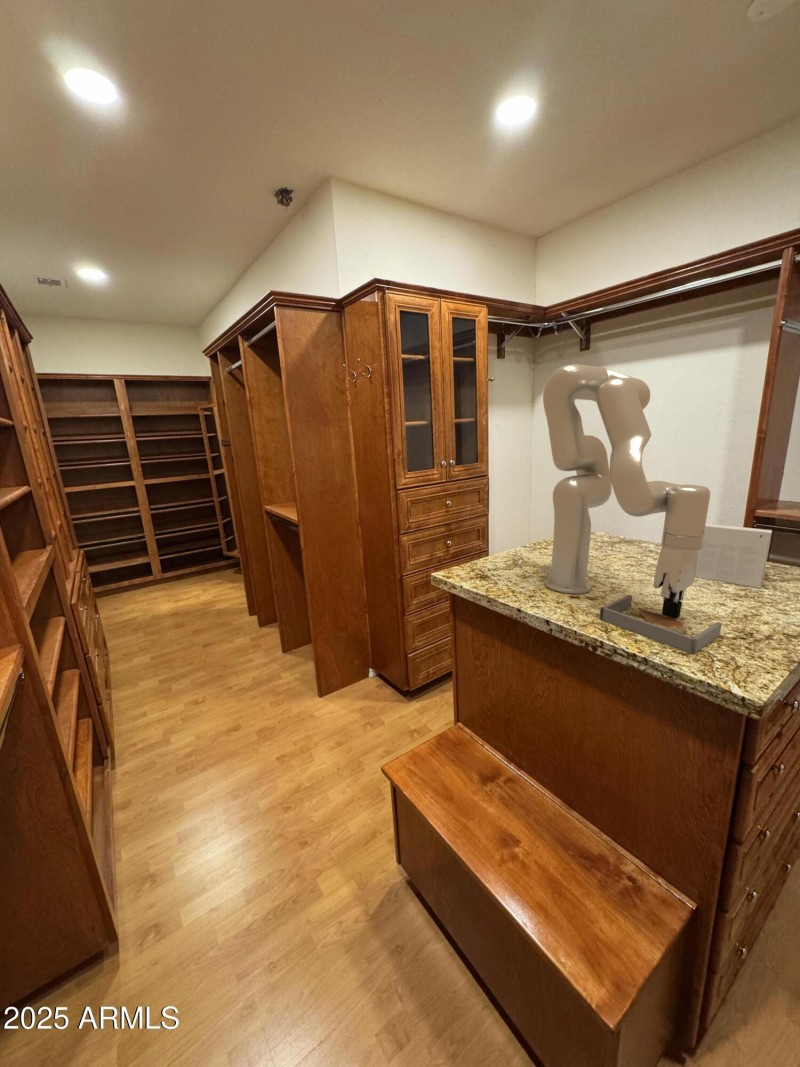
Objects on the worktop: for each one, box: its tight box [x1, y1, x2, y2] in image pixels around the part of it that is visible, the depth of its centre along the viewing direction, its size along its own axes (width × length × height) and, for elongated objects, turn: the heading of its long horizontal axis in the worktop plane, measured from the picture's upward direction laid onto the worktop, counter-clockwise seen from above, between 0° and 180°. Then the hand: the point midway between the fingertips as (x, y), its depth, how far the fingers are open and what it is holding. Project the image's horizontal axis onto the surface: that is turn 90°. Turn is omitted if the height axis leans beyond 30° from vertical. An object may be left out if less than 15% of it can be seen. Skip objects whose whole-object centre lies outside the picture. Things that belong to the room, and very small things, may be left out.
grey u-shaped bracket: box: [599, 594, 723, 655], centre depth 92 cm, size 20×13×3 cm, turn 34°
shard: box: [637, 607, 688, 635], centre depth 94 cm, size 11×8×2 cm
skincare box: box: [695, 523, 773, 589], centre depth 119 cm, size 21×5×16 cm, turn 47°
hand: (670, 616), depth 96 cm, fingers closed
